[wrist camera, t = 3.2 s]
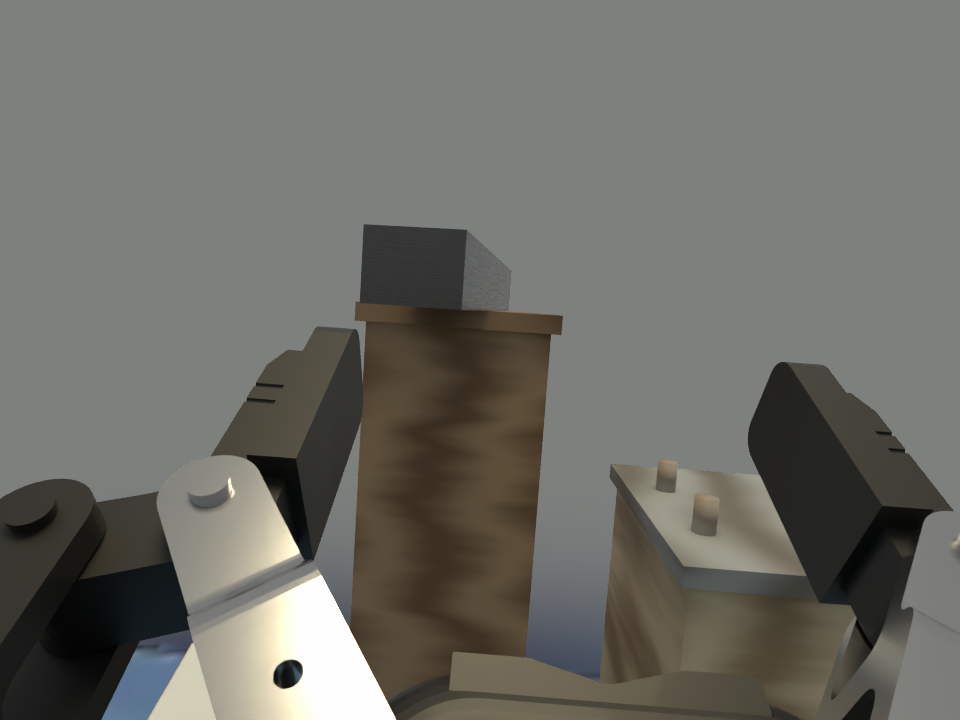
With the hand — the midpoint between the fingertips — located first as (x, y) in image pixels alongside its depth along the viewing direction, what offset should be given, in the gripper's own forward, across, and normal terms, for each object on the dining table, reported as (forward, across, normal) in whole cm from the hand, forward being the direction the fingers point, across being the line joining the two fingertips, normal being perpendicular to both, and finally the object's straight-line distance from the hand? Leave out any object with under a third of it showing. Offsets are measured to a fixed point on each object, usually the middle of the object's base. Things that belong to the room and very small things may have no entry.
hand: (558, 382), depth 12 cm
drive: (+20, +3, +10) cm, 22 cm away
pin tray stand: (+4, -14, +38) cm, 40 cm away
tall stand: (+7, +3, +39) cm, 40 cm away
